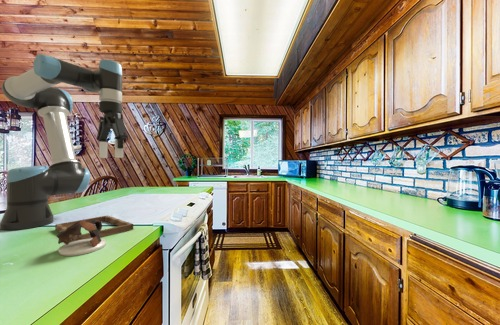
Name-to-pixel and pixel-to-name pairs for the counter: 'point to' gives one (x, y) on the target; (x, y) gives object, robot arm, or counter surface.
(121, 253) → the counter surface
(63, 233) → the brown hollow round piece
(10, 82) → the robot arm
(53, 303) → the counter surface
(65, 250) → the white dome
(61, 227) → the walnut frame
